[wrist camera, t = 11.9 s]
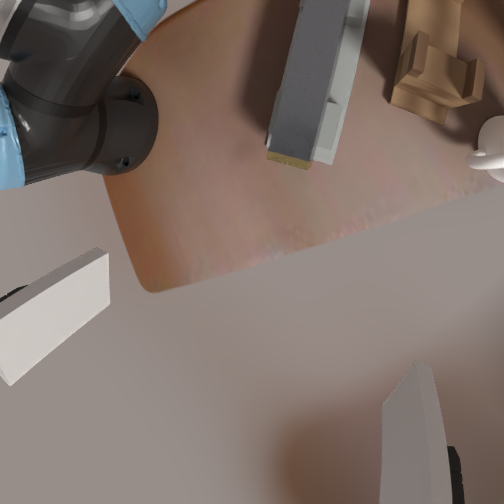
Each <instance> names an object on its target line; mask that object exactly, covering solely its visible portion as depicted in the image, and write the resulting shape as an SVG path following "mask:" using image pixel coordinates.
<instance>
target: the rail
mask: <svg viewBox="0 0 504 504" xmlns="http://www.w3.org/2000/svg"><path fill="white" fill-rule="evenodd" d="M350 2H351V0H305V3H304V7H303V11H302V15H301V19H300V23H299V27H298V31H297V35H296V39H295V43H294V47H293V51H292V55H291V59H290V63H289V67H288V71H287V75H286V79H285V83H284V87H283V92H282V96H281V100H280V104H279V108H278V112H277V116H276V120H275V125H274V129H273V133H272V137H271V141H270V145H269V150H268V154H267V158H266V159H269V160H273V161H276V162H280V163H284V164H287V165H291V166H295V167H298V168H301V169H305V170H308V169H309V168H310V167H311V165H312V162H313V158H314V154H315V150H316V147H317V143H318V139H319V135H320V131H321V127H322V123H323V119H324V115H325V111H326V107H327V103H328V99H329V95H330V91H331V87H332V83H333V79H334V74H335V70H336V66H337V61H338V57H339V53H340V48H341V44H342V39H343V35H344V30H345V26H346V21H347V16H348V11H349V6H350Z"/></svg>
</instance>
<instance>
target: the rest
mask: <svg viewBox="0 0 504 504" xmlns="http://www.w3.org/2000/svg"><path fill="white" fill-rule="evenodd" d="M304 3H305V0H300V3H299V8H300V10H299V14H298V18H297V22H296V26H295V30H294V34H293V38H292V42H291V46H290V50H289V54H288V58H287V62H286V66H285V70H284V74H283V78H282V82H281V87H280V90H278V91H277V95H276V99H275V103H274V107H273V112H272V116H271V120H270V124H269V128H268V133H269V136H268V141H267V145H266V147H268V148H269V145H270V141H271V137H272V133H273V129H274V125H275V120H276V116H277V112H278V108H279V104H280V100H281V96H282V92H283V87H284V83H285V79H286V75H287V71H288V67H289V63H290V59H291V55H292V51H293V47H294V43H295V39H296V35H297V31H298V27H299V23H300V19H301V15H302V11H303V7H304ZM369 4H370V0H351V2H350V6H349V11H348V16H347V21H346V26H345V30H344V35H343V39H342V44H341V48H340V53H339V57H338V61H337V66H336V70H335V74H334V79H333V83H332V87H331V91H330V95H329V99H328V103H327V107H326V111H325V115H324V119H323V123H322V127H321V131H320V135H319V139H318V143H317V147H316V150H315V154H314V158H313V160H316V161H319V162H323V163H326V164H329V165H332V163H333V160H334V156H335V153H336V149H337V145H338V141H339V138H340V134H341V130H342V126H343V122H344V118H345V114H346V110H347V106H348V102H349V98H350V94H351V90H352V85H353V81H354V77H355V72H356V68H357V64H358V59H359V54H360V50H361V45H362V40H363V35H364V30H365V25H366V20H367V15H368V10H369Z"/></svg>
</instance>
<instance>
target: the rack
mask: <svg viewBox="0 0 504 504" xmlns="http://www.w3.org/2000/svg"><path fill="white" fill-rule="evenodd" d="M463 1H464V0H408V3H407V11H406V18H405V25H404V31H403V37H402V43H401V49H400V54H399V60H398V65H397V70H396V75H395V80H394V84H393V89H392V93H391V98H390V102H389V104H391V105H393V106H396V107H399V108H401V109H404V110H407V111H409V112H412V113H414V114H417V115H419V116H421V117H424V118H426V119H428V120H431V121H433V122H435V123H437V124H440V125H444V124H445V120H446V115H447V110H448V109H451V108H455V107H458V106H462V105H466V104H470V103H474V102H478V101H481V99H482V93H483V86H484V78H485V70H486V63H485V62H484V61H482V60H480V59H478V58H476V59H474V60H473V61H471V62H469V63H465V62H463V61H461V60H459V59H457V58H456V57H457V49H458V39H459V27H460V10H461V4H462V2H463Z"/></svg>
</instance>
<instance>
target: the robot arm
mask: <svg viewBox="0 0 504 504" xmlns="http://www.w3.org/2000/svg"><path fill="white" fill-rule="evenodd" d="M166 9H167V0H0V58H2V59H5V60H8V61H11V62H10V65H9V67H8V69H7V71H6V73H5V76H4V78H3V80H2V82H0V190H6V189H10V188H15V187H18V188H21V187H23V186H25V185H28V184H32V183H35V182H38V181H42V180H45V179H49V178H52V177H55V176H60V175H63V174H67V173H71V172H75V171H79V170H85V171H89V172H94V173H98V174H102V175H118V174H122V173H126V172H129V171H131V170H133V169H135V168H136V167H138V166H139V165H140V164H141V163H142V162H143V161H144V160H145V159H146V157H147V156H148V154H149V153H150V151H151V149H152V147H153V144H154V142H155V139H156V135H157V130H158V109H157V104H156V101H155V98H154V96H153V94H152V92H151V91H150V89H149V88H148V87H147V86H146V85H145V84H144V83H143V82H141V81H140V80H138V79H135V78H131V77H125V76H116V75H117V73H118V72H119V71H120V69H121V68H122V66H123V65H124V64H125V62H126V61H127V60H128V58H129V57H130V56H131V55H132V53H133V52H134V51H135V50H136V48H137V47H138V46H139V45H140V44H141V42H144V41H145V40H146V39H147V35H148V34H149V32H150V31H151V30H152V28H153V27H154V26H155V25H156V23H157V22H158V21H159V20H160V18H161V17H162V16H163V15H164V13H165V12H166ZM108 305H110V292H109V253H108V252H106V251H103V250H101V249H99V248H94V249H92V250H90V251H88V252H87V253H85V254H83V255H81V256H79V257H77V258H76V259H74V260H72V261H70V262H68V263H66V264H64V265H63V266H61V267H59V268H57V269H56V270H54V271H52V272H50V273H49V274H47V275H45V276H43V277H42V278H40V279H38V280H37V281H35V282H33V283H31V284H30V285H26V286H23V287H19V288H16V289H15V290H13V291H11V292H10V293H8V294H7V296H6V295H5V296H3V297H1V298H0V376H1V377H2V378H3V379H4V381H5V382H6V383H7V384H8V385H9V386H11V385H12V384H13V383H15V382H16V381H17V380H18V379H19V378H20V377H21V376H23V375H24V374H25V373H26V372H27V371H29V370H30V369H31V368H32V367H33V366H34V365H36V364H37V363H38V362H39V361H40V360H41V359H42V358H44V357H45V356H46V355H47V354H49V353H50V352H51V351H52V350H53V349H55V348H56V347H57V346H58V345H59V344H61V343H62V342H63V341H64V340H66V339H67V338H68V337H69V336H70V335H72V334H73V333H74V332H75V331H77V330H78V329H79V328H80V327H82V326H83V325H84V324H85V323H87V322H88V321H89V320H90V319H92V318H93V317H94V316H96V315H97V314H98V313H99V312H101V311H102V310H103V309H104V308H106V307H107V306H108ZM379 504H465V503H464V491H463V484H462V474H461V464H460V458H459V456H458V454H457V452H456V450H455V448H454V447H452V446H447V444H446V438H445V431H444V426H443V420H442V414H441V409H440V405H439V400H438V395H437V391H436V386H435V382H434V378H433V374H432V370H431V366H430V365H429V364H425V363H421V362H417V361H414V363H413V364H412V366H411V367H410V369H409V370H408V371H407V373H406V374H405V376H404V377H403V378H402V380H401V381H400V382H399V384H398V385H397V386H396V388H395V389H394V390H393V392H392V393H391V394H390V396H389V397H388V398H387V399H386V401H385V402H384V403H383V404H382V469H381V489H380V501H379Z"/></svg>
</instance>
